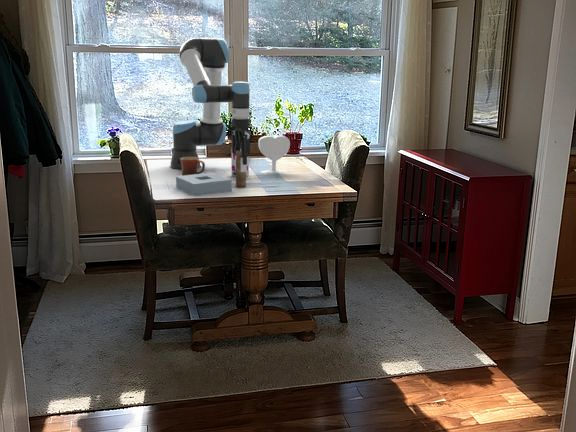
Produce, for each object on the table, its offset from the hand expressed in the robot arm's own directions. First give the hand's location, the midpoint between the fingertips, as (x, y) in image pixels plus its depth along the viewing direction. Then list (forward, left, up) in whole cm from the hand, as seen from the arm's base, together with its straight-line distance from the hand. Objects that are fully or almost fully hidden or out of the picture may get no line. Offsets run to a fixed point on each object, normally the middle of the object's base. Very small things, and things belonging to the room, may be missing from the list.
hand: (240, 170), depth 274 cm
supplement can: (-20, +11, -7) cm, 24 cm away
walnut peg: (0, 0, -7) cm, 7 cm away
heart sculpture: (-21, +31, -7) cm, 38 cm away
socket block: (-3, -17, -7) cm, 19 cm away
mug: (-22, -13, -7) cm, 27 cm away
